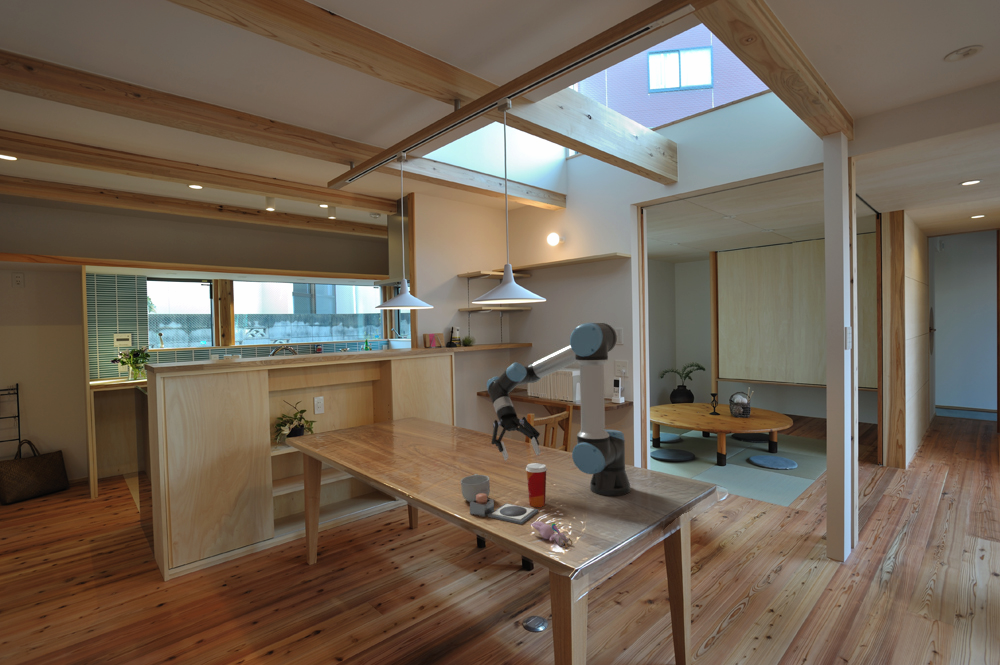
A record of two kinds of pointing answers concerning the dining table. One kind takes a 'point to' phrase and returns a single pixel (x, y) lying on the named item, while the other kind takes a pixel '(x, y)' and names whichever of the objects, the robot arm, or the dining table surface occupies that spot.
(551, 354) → the robot arm
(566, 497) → the dining table surface
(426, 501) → the dining table surface
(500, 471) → the dining table surface
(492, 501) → the button housing
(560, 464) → the dining table surface
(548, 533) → the pink unicorn toy
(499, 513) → the board
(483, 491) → the teacup
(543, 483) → the paper cup
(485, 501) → the button
